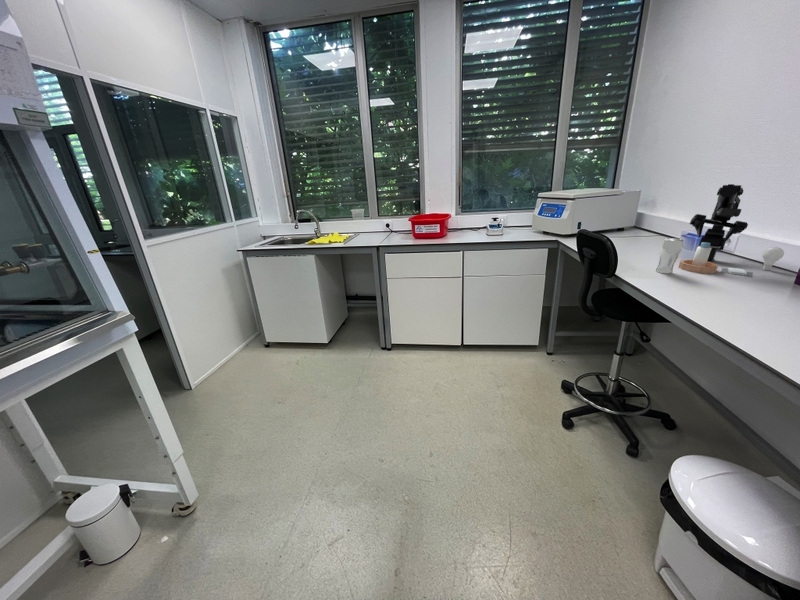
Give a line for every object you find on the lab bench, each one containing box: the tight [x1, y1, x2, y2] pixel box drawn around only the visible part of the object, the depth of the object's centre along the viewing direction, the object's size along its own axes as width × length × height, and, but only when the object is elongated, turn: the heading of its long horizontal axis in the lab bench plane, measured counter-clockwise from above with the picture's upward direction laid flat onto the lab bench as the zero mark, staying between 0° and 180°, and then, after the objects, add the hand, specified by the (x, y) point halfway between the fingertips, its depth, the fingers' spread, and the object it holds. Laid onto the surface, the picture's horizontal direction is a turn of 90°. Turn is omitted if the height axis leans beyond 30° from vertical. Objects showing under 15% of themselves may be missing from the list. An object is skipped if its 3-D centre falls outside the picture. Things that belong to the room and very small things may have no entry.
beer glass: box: [655, 237, 684, 275], centre depth 143 cm, size 7×7×15 cm
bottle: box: [691, 242, 712, 267], centre depth 146 cm, size 5×5×12 cm
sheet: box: [727, 267, 747, 276], centre depth 142 cm, size 7×5×1 cm
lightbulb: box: [761, 246, 785, 272], centre depth 143 cm, size 6×6×11 cm
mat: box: [720, 267, 754, 278], centre depth 142 cm, size 10×10×1 cm
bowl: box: [678, 259, 719, 274], centre depth 148 cm, size 13×13×3 cm
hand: (711, 239), depth 146 cm, fingers open, 9 cm apart
